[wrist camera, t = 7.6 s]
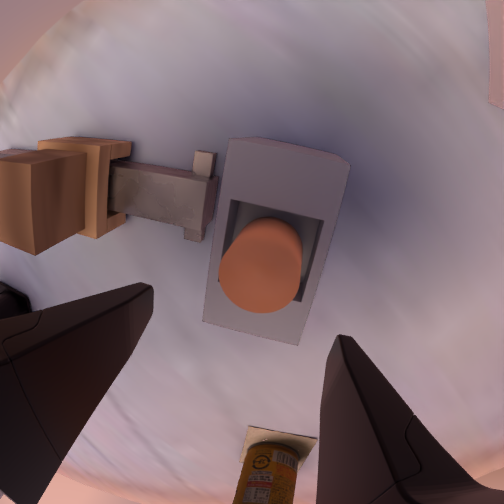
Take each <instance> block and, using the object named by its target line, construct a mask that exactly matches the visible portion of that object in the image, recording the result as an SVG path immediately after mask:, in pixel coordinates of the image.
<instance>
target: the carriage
mask: <svg viewBox="0 0 504 504" xmlns="http://www.w3.org/2000/svg"><path fill="white" fill-rule="evenodd" d="M130 151H131V142H128V141H118V140H108V139H97V138H85V137H63V138H56V139H49V140H42V141H38V150H37V151H32V152H27V153H22V154H17V155H13V156H8V157H4V158H0V241H1V242H3V243H6V244H8V245H10V246H13V247H15V248H18V249H20V250H22V251H25V252H27V253H30V254H32V255H35V256H36V255H38V254H39V253H41V252H43V251H45V250H47V249H48V248H50V247H52V246H54V245H56V244H57V243H59V242H61V241H63V240H65V239H67V238H68V237H70V236H72V235H74V234H76V233H77V234H81V235H84V236H88V237H91V238H95V239H97V238H99V237H101V236H103V235H104V234H106V233H108V232H110V231H111V230H113V229H115V228H117V227H118V226H120V225H122V224H124V223H125V219H126V214H125V213H121V212H116V211H112V210H108V209H107V196H108V177H109V163H110V160H112V159H117V158H122V157H127V156H130Z"/></svg>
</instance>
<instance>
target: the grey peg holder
mask: <svg viewBox="0 0 504 504" xmlns="http://www.w3.org/2000/svg"><path fill="white" fill-rule="evenodd" d="M350 166H351V165H350V164H348V163H347V162H346V161H345V160H343V159H342V158H341V157H339V156H338V155H336V154H333V153H329V152H325V151H321V150H316V149H312V148H308V147H304V146H299V145H295V144H290V143H285V142H281V141H276V140H271V139H266V138H260V137H246V138H231V139H229V142H228V148H227V153H226V159H225V165H224V171H223V177H222V184H221V190H220V196H219V203H218V209H217V216H216V222H215V229H214V236H213V243H212V250H211V257H210V264H209V272H208V279H207V287H206V295H205V303H204V311H203V319H202V321H203V322H207V323H210V324H214V325H218V326H221V327H225V328H229V329H232V330H236V331H240V332H244V333H247V334H251V335H255V336H259V337H263V338H267V339H271V340H275V341H280V342H284V343H288V344H293V345H297V346H298V344H299V341H300V338H301V335H302V332H303V329H304V326H305V323H306V321H307V318H308V314H309V311H310V308H311V305H312V302H313V299H314V296H315V293H316V290H317V286H318V283H319V280H320V277H321V273H322V270H323V267H324V263H325V260H326V257H327V253H328V250H329V246H330V243H331V239H332V236H333V232H334V229H335V225H336V221H337V218H338V214H339V210H340V206H341V203H342V199H343V195H344V191H345V187H346V183H347V179H348V175H349V171H350ZM261 217H276V218H279V219H282V220H284V221H286V222H288V223H289V224H290V225H292V226H293V227H294V228H295V230H296V231H297V232H298V234H299V236H300V238H301V241H302V246H303V254H302V265H301V275H300V284H299V289H298V291H297V294H296V295H295V297H294V298H293V300H292V301H291V302H290V303H289V304H288V305H287V306H285V307H284V308H282V309H280V310H278V311H275V312H271V313H254V312H250V311H246V310H244V309H242V308H240V307H238V306H237V305H235V304H234V303H233V302H232V301H231V300H230V299H229V298H228V297H227V296H226V295H225V293H224V292H223V290H222V287H221V285H220V281H219V274H218V273H219V265H220V262H221V260H222V258H223V256H224V254H225V253H226V251H227V250H228V249H229V247H230V246H231V244H232V243H233V242H234V240H235V239H236V237H237V236H238V235H239V233H240V232H241V230H242V229H243V228H244V227H245V226H246V225H247V224H248V223H249V222H251V221H253V220H254V219H257V218H261Z"/></svg>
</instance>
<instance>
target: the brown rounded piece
mask: <svg viewBox="0 0 504 504" xmlns="http://www.w3.org/2000/svg"><path fill="white" fill-rule="evenodd" d="M302 254H303V246H302V241H301V238H300V236H299V234H298V232H297V231H296V230H295V228H294V227H293V226H292V225H290V224H289V223H288V222H286V221H284V220H282V219H279V218H276V217H261V218H257V219H254V220H253V221H251V222H249V223H248V224H247V225H246V226H245V227H244V228H243V229H242V230H241V232H240V233H239V235H238V236H237V237H236V239H235V240H234V242H233V243H232V244H231V246H230V247H229V249H228V250H227V251H226V253H225V254H224V256H223V258H222V260H221V262H220V265H219V273H218V274H219V281H220V285H221V287H222V290H223V292H224V293H225V295H226V296H227V297H228V298H229V299H230V300H231V301H232V302H233V303H234V304H235V305H237V306H238V307H240V308H242V309H244V310H246V311H250V312H254V313H271V312H275V311H278V310H280V309H282V308H284V307H285V306H287V305H288V304H289V303H290V302H291V301H292V300H293V298H294V297H295V295H296V294H297V291H298V289H299V284H300V275H301V265H302Z"/></svg>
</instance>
